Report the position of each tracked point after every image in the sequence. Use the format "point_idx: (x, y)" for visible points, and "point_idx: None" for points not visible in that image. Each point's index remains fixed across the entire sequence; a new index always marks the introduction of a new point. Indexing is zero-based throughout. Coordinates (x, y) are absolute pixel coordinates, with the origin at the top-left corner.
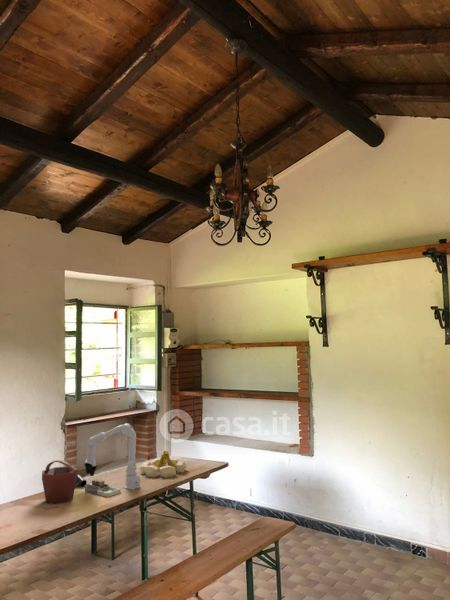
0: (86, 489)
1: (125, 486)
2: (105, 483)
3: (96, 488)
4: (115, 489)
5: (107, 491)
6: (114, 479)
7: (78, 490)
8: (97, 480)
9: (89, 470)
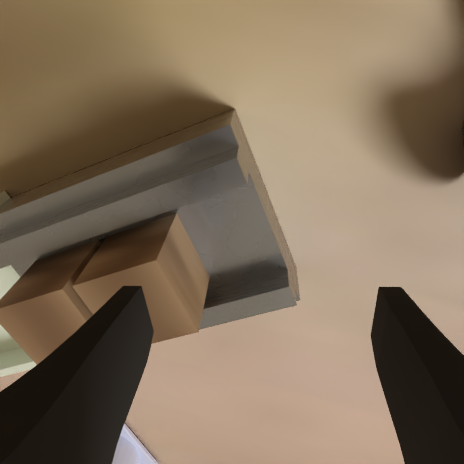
0: (195, 128)
1: (124, 430)
2: None
3: (24, 225)
4: (12, 358)
5: None
6: None
7: (327, 30)
8: None
9: (389, 386)
